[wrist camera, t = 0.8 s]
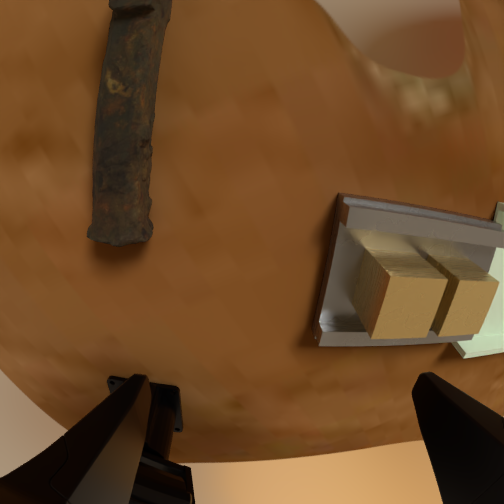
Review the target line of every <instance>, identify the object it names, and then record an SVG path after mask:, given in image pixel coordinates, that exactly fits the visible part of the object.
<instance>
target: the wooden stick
mask: <svg viewBox="0 0 504 504" xmlns="http://www.w3.org/2000/svg"><path fill="white" fill-rule="evenodd" d="M109 7H110V8H111V9H112V10H113V14H112V19H111V22H110V28H109V36H108V42H107V49H106V56H105V59H104V62H103V67H102V74H101V81H100V87H99V93H98V100H97V109H96V120H95V135H94V149H93V214H92V224H91V225H90V226H89V228H88V231H87V237H88V238H89V239H91V240H93V241H97V242H102V243H107V244H111V245H113V246H117V247H121V246H124V245H127V244H136V243H139V242H146V241H148V240H149V239H150V238H151V236H152V233H153V232H152V230H153V224H152V222H151V221H150V219H149V218H148V213H149V210H150V208H151V205H152V199H151V198H150V197H149V192H148V190H149V183H150V172H151V167H152V162H151V156H152V146H151V135H152V128H153V122H154V118H155V113H154V110H155V99H156V89H157V80H158V72H159V66H160V60H161V52H162V45H163V40H164V34H165V28H166V25H167V23H168V22H169V20H170V14H171V7H172V0H109Z"/></svg>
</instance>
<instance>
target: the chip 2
mask: <svg viewBox="0 0 504 504" xmlns="http://www.w3.org/2000/svg"><path fill="white" fill-rule="evenodd" d="M427 262H428V263H430V264H431V265H432V266H433V267H434V268H435V269H437V270H438V271H439V272H440V273H441V274H442V275H443V276H445V277H446V278H447V279H448V281H447V284H446V287H445V290H444V293H443V296H442V298H441V301H440V304H439V306H438V309H437V312H436V314H435V317H434V319H433V322H432V324H431V329H432V330H433V331H434V332H435V334H436V335H437V336H438V337H443V336H457V335H470V334H479V331H480V329H481V327H482V325H483V323H484V320H485V318H486V316H487V313H488V311H489V309H490V306H491V304H492V301H493V299H494V296H495V294H496V291H497V288H498V286H499V283H500V282H499V281H498V280H496V279H495V278H494V277H492V276H491V275H490V274H488V273H487V272H486V271H485V270H483V269H482V268H481V267H479V266H478V265H476V264H475V263H474V262H472V261H471V260H470V259H468V258H459V257H450V256H441V255H431V254H429V255H428V258H427Z"/></svg>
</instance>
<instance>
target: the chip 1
mask: <svg viewBox="0 0 504 504" xmlns="http://www.w3.org/2000/svg"><path fill="white" fill-rule="evenodd" d="M447 281H448V279H447V278H446V277H445V276H443V275H442V274H441V273H440V272H439V271H438V270H437V269H435V268H434V267H433V266H432V265H431V264H430V263H428V262H427V261H426V260H425V259H424V258H423V257H421V256H420V255H419V254H418V253H411V252H401V251H391V250H381V249H371V248H365V252H364V256H363V260H362V265H361V269H360V273H359V277H358V281H357V285H356V289H355V293H354V296H353V300H352V305H353V307H354V309H355V311H356V313H357V314H358V316H359V318H360V320H361V322H362V324H363V325H364V327H365V329H366V331H367V333H368V335H369V337H370V338H371V339H400V338H425V337H426V336H427V334H428V332H429V329H430V327H431V324H432V322H433V319H434V317H435V314H436V312H437V309H438V306H439V304H440V301H441V298H442V296H443V293H444V290H445V287H446V284H447Z"/></svg>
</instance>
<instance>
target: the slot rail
mask: <svg viewBox="0 0 504 504" xmlns="http://www.w3.org/2000/svg"><path fill="white" fill-rule="evenodd" d="M496 247H497V248H503V249H504V230H503V229H502V225H501V224H499V223H497V222H495V221H493V220H489V219H484V218H480V217H475V216H471V215H466V214H461V213H456V212H451V211H446V210H441V209H436V208H431V207H426V206H420V205H414V204H409V203H403V202H397V201H391V200H385V199H379V198H372V197H366V196H359V195H352V194H345V193H338V199H337V205H336V211H335V217H334V223H333V229H332V234H331V240H330V245H329V250H328V255H327V261H326V266H325V271H324V276H323V280H322V285H321V290H320V294H319V299H318V304H317V308H316V313H315V317H314V321H313V326H312V332H313V335H314V339H317V342H318V345H319V346H391V345H414V344H430V343H444V342H457V341H467V340H472V338H473V336H474V334H470V335H457V336H443V337H438V336H437V335H436V334H435V332H434V331H433V330H432V329H431V327H430V329H429V332H428V334H427V336H426V337H425V338H400V339H371V338H370V337H369V335H368V333H367V331H366V329H365V327H364V325H363V324H362V322H361V320H360V318H359V316H358V314H357V313H356V311H355V309H354V307H353V305H352V300H353V296H354V293H355V289H356V285H357V281H358V277H359V273H360V269H361V265H362V260H363V256H364V252H365V248H371V249H381V250H391V251H401V252H411V253H418V254H419V255H420V256H421V257H423V258H424V259H425V260H426V261H427V258H428V255H429V254H431V255H441V256H450V257H459V258H468V259H470V260H471V261H472V262H474V263H475V264H476V265H478V266H479V267H481V268H482V269H483V270H485V271H486V272H487V273H489V270H490V267H491V263H492V260H493V257H494V254H495V251H496Z"/></svg>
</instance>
